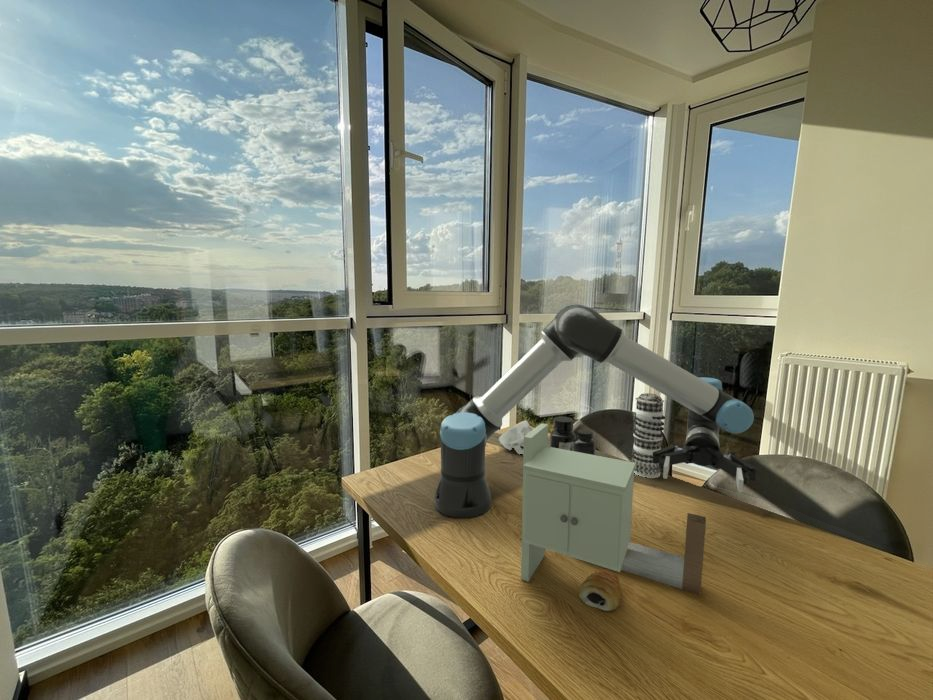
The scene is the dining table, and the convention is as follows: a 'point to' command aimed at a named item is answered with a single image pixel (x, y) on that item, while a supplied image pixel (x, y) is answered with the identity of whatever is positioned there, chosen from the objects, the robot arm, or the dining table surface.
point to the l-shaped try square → (672, 559)
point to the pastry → (601, 590)
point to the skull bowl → (515, 436)
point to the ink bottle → (563, 434)
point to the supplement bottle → (584, 442)
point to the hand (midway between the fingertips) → (701, 479)
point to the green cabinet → (574, 505)
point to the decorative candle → (647, 434)
